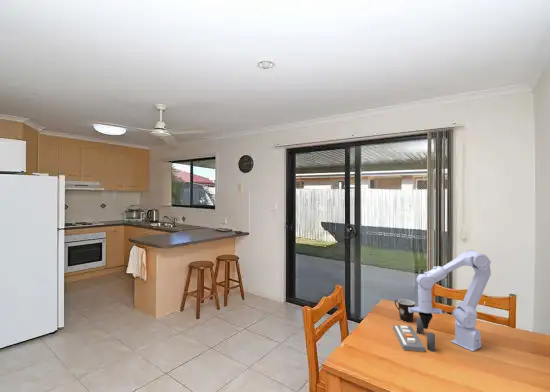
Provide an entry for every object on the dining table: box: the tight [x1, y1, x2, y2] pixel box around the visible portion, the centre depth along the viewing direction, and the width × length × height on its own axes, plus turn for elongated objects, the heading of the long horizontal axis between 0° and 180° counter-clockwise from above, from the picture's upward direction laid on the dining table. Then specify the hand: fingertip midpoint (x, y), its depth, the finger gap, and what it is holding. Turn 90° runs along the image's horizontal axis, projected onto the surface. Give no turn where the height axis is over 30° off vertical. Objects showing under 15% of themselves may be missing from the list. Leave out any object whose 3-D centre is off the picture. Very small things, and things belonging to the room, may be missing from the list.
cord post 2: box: [426, 332, 436, 353], centre depth 126 cm, size 3×3×7 cm
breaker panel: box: [392, 324, 426, 353], centre depth 135 cm, size 20×9×3 cm, turn 169°
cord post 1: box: [416, 317, 425, 335], centre depth 140 cm, size 3×3×7 cm
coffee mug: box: [394, 298, 416, 323], centre depth 157 cm, size 12×9×10 cm
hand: (425, 327), depth 133 cm, fingers closed
